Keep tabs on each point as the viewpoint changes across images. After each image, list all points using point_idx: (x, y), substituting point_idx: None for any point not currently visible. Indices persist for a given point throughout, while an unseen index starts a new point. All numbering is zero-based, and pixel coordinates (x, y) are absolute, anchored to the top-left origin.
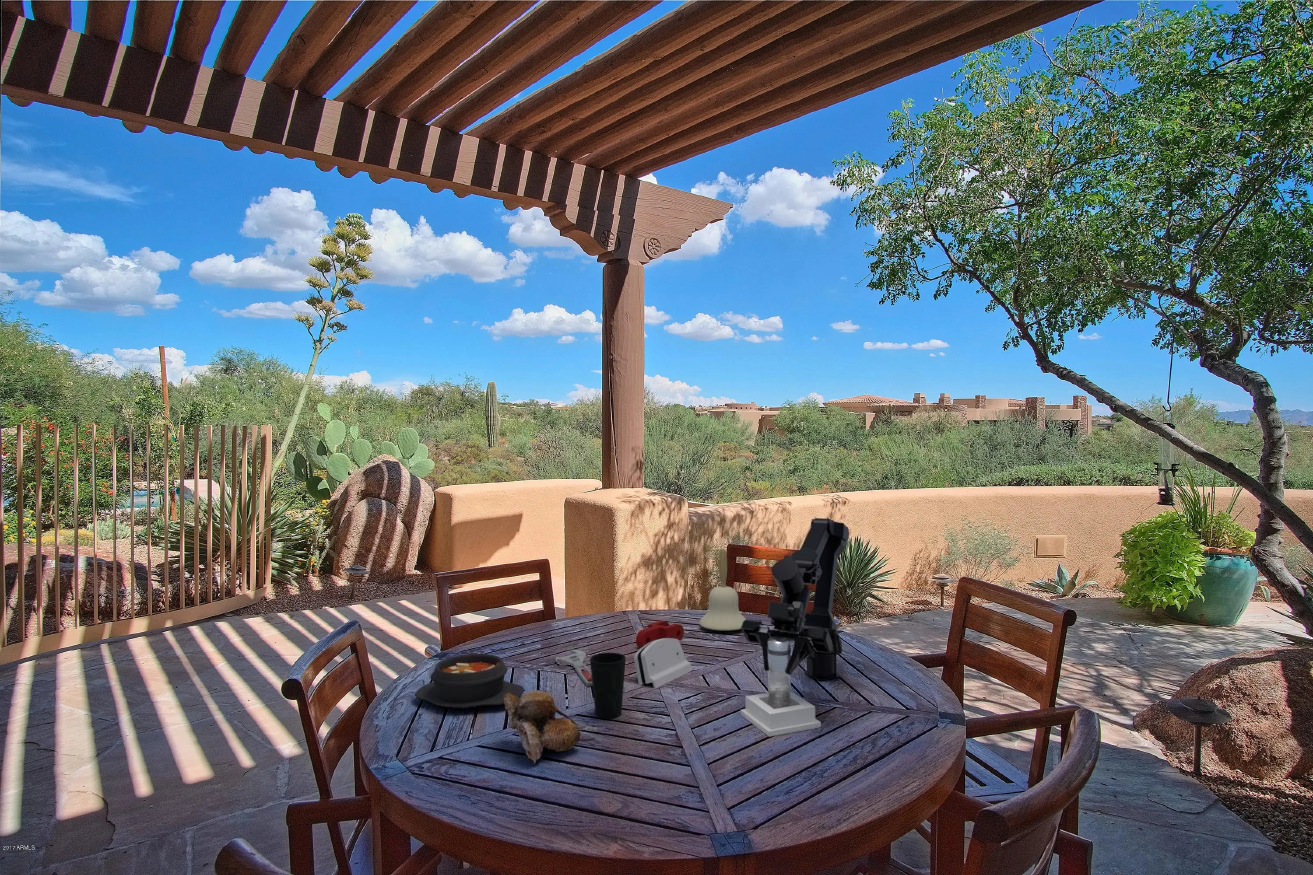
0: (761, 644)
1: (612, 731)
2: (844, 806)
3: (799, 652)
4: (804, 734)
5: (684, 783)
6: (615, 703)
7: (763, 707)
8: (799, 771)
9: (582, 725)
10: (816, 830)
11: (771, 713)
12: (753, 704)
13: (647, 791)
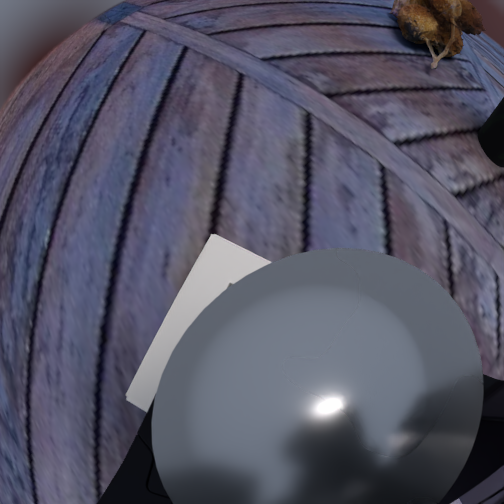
0: (489, 377)
1: (438, 98)
2: (15, 118)
3: (117, 481)
4: (140, 317)
5: (230, 32)
6: (491, 123)
7: None
8: (83, 145)
9: (439, 55)
10: (42, 66)
11: (213, 240)
12: None
13: (255, 11)
